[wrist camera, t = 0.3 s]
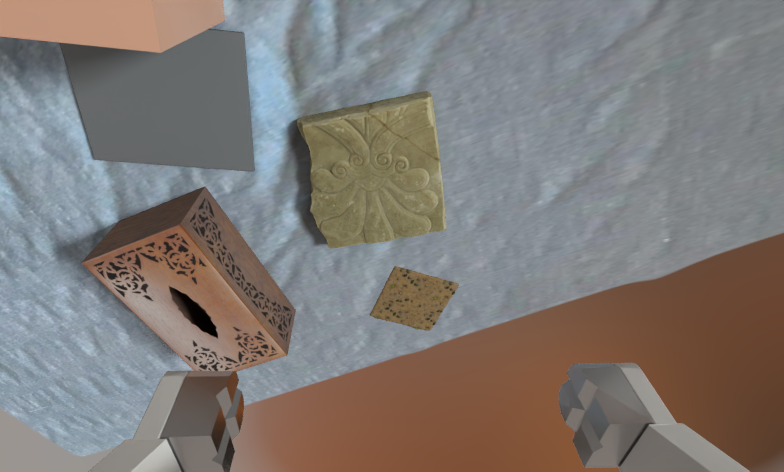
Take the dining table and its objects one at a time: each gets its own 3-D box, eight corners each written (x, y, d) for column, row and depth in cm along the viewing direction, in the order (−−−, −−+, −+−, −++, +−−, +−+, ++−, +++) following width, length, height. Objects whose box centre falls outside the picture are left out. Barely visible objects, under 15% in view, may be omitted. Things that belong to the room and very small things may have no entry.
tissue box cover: (119, 220, 60) (81, 262, 52) (205, 185, 58) (180, 224, 50) (223, 333, 74) (205, 381, 66) (295, 309, 72) (287, 355, 64)
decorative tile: (430, 89, 53) (434, 97, 50) (444, 221, 64) (448, 234, 61) (286, 114, 54) (281, 124, 51) (324, 241, 65) (323, 254, 62)
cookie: (393, 263, 68) (394, 267, 67) (459, 282, 71) (460, 285, 70) (368, 314, 74) (368, 317, 73) (430, 329, 77) (430, 333, 76)
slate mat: (53, 11, 45) (50, 12, 45) (244, 32, 48) (242, 33, 47) (97, 157, 55) (94, 159, 54) (254, 169, 57) (253, 171, 56)
